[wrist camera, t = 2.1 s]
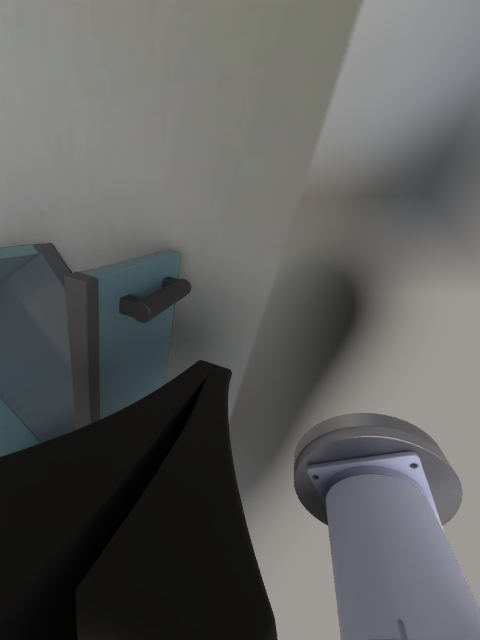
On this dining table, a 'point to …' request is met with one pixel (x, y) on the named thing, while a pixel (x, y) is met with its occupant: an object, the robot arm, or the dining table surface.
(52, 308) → the light blue open box
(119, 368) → the blue flat panel
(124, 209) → the dining table surface
